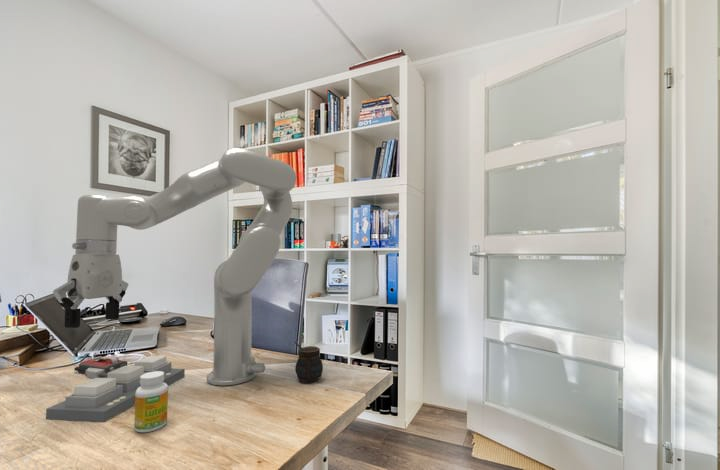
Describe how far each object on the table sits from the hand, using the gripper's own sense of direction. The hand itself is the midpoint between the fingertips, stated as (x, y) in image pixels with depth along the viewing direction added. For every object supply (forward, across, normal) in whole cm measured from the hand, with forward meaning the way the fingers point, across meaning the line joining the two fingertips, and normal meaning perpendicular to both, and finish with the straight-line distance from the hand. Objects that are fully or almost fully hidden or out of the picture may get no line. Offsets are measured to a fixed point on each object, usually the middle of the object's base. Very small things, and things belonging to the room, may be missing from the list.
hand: (93, 322), depth 77 cm
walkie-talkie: (+18, +16, +12) cm, 27 cm away
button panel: (+17, +4, -5) cm, 19 cm away
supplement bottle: (+18, -8, -23) cm, 30 cm away
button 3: (+14, -4, -5) cm, 15 cm away
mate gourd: (+17, +19, -46) cm, 52 cm away
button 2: (+14, +4, -5) cm, 15 cm away
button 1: (+14, +12, -5) cm, 19 cm away
